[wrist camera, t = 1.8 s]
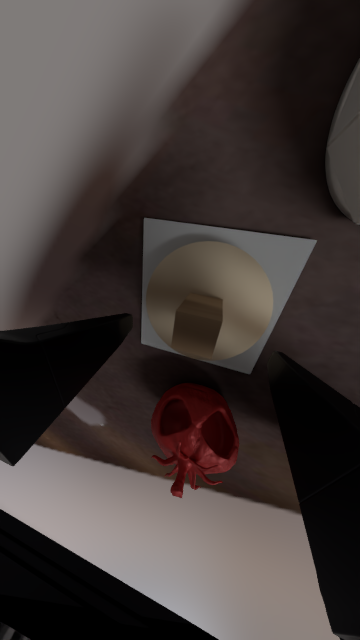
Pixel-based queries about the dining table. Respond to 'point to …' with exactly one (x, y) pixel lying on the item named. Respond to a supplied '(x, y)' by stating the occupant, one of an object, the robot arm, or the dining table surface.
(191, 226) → the mat
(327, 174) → the bowl
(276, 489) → the dining table surface
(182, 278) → the lid
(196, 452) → the pomegranate
